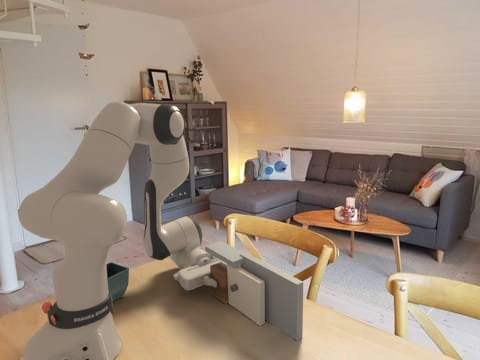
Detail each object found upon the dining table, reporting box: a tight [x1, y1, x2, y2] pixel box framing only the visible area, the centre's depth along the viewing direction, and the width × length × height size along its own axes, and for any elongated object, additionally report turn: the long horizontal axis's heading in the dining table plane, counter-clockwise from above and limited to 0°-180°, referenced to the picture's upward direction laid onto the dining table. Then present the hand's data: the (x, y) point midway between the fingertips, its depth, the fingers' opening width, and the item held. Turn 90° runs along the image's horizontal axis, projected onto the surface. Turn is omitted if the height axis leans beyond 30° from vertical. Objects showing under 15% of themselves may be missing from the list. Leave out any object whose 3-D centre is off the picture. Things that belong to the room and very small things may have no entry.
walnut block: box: [210, 262, 228, 304], centre depth 109 cm, size 4×7×9 cm, turn 37°
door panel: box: [227, 264, 266, 326], centre depth 100 cm, size 3×14×12 cm, turn 37°
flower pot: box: [106, 261, 130, 302], centre depth 110 cm, size 9×9×9 cm
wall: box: [204, 240, 304, 341], centre depth 101 cm, size 6×34×15 cm, turn 37°
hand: (225, 281), depth 108 cm, fingers closed on walnut block, 4 cm apart
